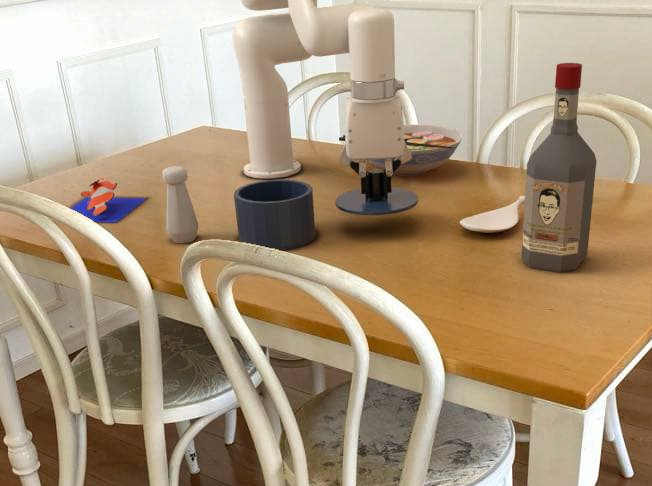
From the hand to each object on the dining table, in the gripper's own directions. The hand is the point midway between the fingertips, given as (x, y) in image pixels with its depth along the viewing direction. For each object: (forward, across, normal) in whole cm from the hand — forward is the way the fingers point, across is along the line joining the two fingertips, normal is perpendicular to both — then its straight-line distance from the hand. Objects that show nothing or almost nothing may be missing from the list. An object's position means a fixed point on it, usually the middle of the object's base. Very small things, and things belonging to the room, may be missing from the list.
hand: (376, 196), depth 157 cm
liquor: (+6, -28, +20) cm, 35 cm away
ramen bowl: (+6, -8, -35) cm, 36 cm away
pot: (+6, +18, +3) cm, 19 cm away
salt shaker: (+6, +35, +2) cm, 36 cm away
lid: (+1, 0, 0) cm, 1 cm away
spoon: (+6, -27, -3) cm, 28 cm away
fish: (+6, +55, -18) cm, 58 cm away
